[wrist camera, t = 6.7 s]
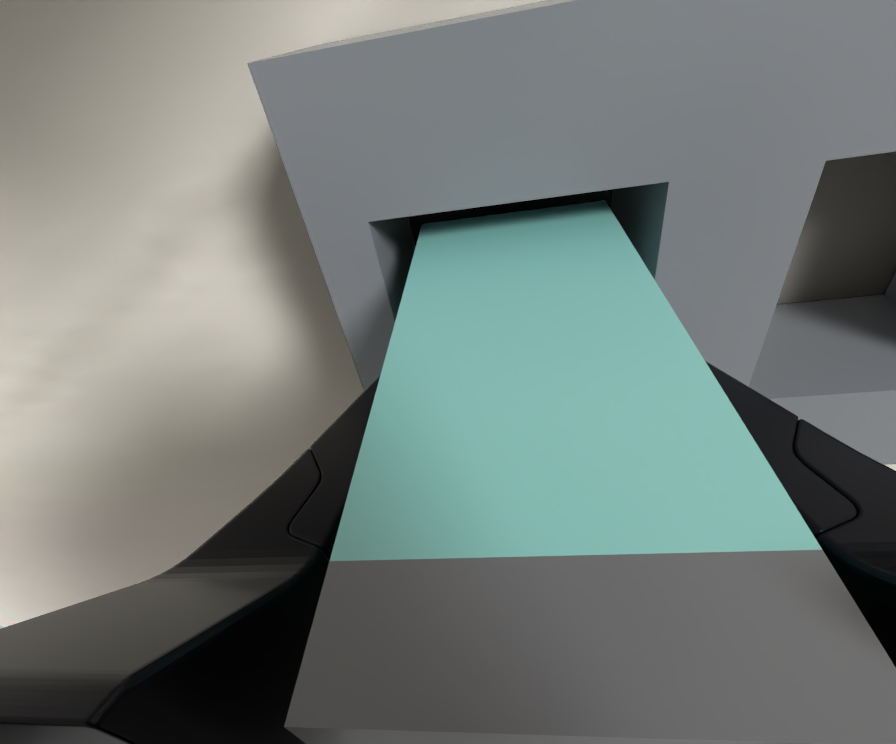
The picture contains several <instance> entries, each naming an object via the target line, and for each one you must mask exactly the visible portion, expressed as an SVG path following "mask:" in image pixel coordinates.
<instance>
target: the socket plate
mask: <svg viewBox="0 0 896 744" xmlns="http://www.w3.org/2000/svg"><path fill="white" fill-rule="evenodd" d="M248 66H249V69H250V72H251V75H252V77H253V80H254V83H255V86H256V89H257V91H258V94H259V97H260V100H261V103H262V105H263V108H264V111H265V114H266V117H267V119H268V122H269V125H270V128H271V131H272V133H273V136H274V139H275V142H276V145H277V147H278V150H279V153H280V156H281V159H282V161H283V164H284V167H285V170H286V173H287V175H288V178H289V181H290V184H291V187H292V189H293V192H294V195H295V198H296V201H297V203H298V206H299V209H300V212H301V215H302V217H303V220H304V223H305V226H306V229H307V232H308V234H309V237H310V240H311V243H312V246H313V248H314V251H315V254H316V257H317V260H318V262H319V265H320V268H321V271H322V274H323V276H324V279H325V282H326V285H327V288H328V290H329V293H330V296H331V299H332V302H333V304H334V307H335V310H336V313H337V316H338V318H339V321H340V324H341V327H342V330H343V332H344V335H345V338H346V341H347V344H348V346H349V349H350V352H351V355H352V358H353V360H354V363H355V366H356V369H357V372H358V374H359V377H360V380H361V383H362V386H363V388H364V391H365V390H366V389H367V388H368V387H369V386H370V385H371V384H372V383H373V382H374V381H375V380H376V379H377V378H378V377H379V376H380V375H381V372H382V368H383V364H384V361H385V357H386V353H387V350H388V346H389V342H390V339H391V335H392V332H393V328H394V324H395V321H396V317H397V313H398V310H399V306H400V302H401V299H402V295H403V291H404V288H405V284H406V281H407V277H408V273H409V270H410V266H411V262H412V259H413V255H414V251H415V244H414V239H413V235H412V230H411V225H410V220H409V216H416V215H423V214H431V213H438V212H446V211H453V210H461V209H468V208H476V207H483V206H491V205H498V204H506V203H513V202H521V201H528V200H536V199H543V198H551V197H558V196H566V195H573V194H581V193H588V192H596V191H603V190H611V189H613V190H612V204H611V211H612V212H613V214H614V215H615V217H616V219H617V220H618V222H619V223H620V225H621V227H622V228H623V230H624V232H625V233H626V235H627V236H628V238H629V240H630V241H631V243H632V244H633V246H634V248H635V249H636V251H637V252H638V254H639V256H640V257H641V259H642V260H643V262H644V264H645V265H646V267H647V269H648V270H649V272H650V273H651V275H652V277H653V278H654V280H655V281H656V283H657V285H658V286H659V288H660V289H661V291H662V293H663V294H664V296H665V297H666V299H667V301H668V302H669V304H670V305H671V307H672V309H673V310H674V312H675V314H676V315H677V317H678V318H679V320H680V322H681V323H682V325H683V326H684V328H685V330H686V331H687V333H688V334H689V336H690V338H691V339H692V341H693V342H694V344H695V346H696V347H697V349H698V351H699V352H700V354H701V355H702V357H703V359H704V360H705V361H706V362H708V363H710V364H711V365H713V366H715V367H716V368H718V369H720V370H722V371H723V372H725V373H727V374H728V375H730V376H732V377H733V378H735V379H737V380H738V381H740V382H742V383H743V384H745V385H747V386H748V387H750V388H752V389H753V390H755V391H757V392H758V393H760V394H762V395H763V396H765V397H767V398H768V399H770V400H772V401H773V402H775V403H777V404H778V405H780V406H782V407H783V408H785V409H787V410H788V411H790V412H792V413H793V414H795V415H797V416H798V420H799V419H804V420H805V421H807V422H809V423H810V424H812V425H814V426H815V427H817V428H819V429H820V430H822V431H824V432H825V433H827V434H829V435H831V436H832V437H834V438H836V439H838V440H839V441H841V442H843V443H845V444H846V445H848V446H850V447H852V448H853V449H855V450H857V451H859V452H860V453H862V454H864V455H866V456H868V457H870V458H872V459H874V460H876V461H877V462H879V463H881V464H896V272H895V274H894V276H893V278H892V280H891V282H890V284H889V286H888V288H887V290H886V292H885V294H884V295H874V296H863V297H852V298H842V299H831V300H821V301H810V302H799V303H789V304H778V305H777V302H778V299H779V296H780V293H781V290H782V288H783V285H784V282H785V279H786V276H787V273H788V270H789V267H790V264H791V261H792V258H793V256H794V253H795V250H796V247H797V244H798V241H799V238H800V235H801V232H802V229H803V226H804V223H805V221H806V218H807V215H808V212H809V209H810V206H811V203H812V200H813V197H814V194H815V191H816V189H817V186H818V183H819V180H820V177H821V174H822V171H823V168H824V165H825V162H826V161H828V160H836V159H843V158H851V157H858V156H866V155H873V154H880V153H888V152H895V151H896V0H548V1H543V2H538V3H533V4H527V5H522V6H517V7H512V8H507V9H502V10H496V11H491V12H486V13H481V14H476V15H471V16H465V17H460V18H455V19H450V20H445V21H440V22H434V23H429V24H424V25H419V26H414V27H409V28H403V29H398V30H393V31H388V32H383V33H378V34H372V35H367V36H362V37H357V38H352V39H347V40H341V41H336V42H331V43H326V44H321V45H316V46H312V47H308V48H305V49H301V50H297V51H293V52H289V53H285V54H282V55H278V56H274V57H270V58H266V59H262V60H258V61H255V62H251V63H248Z"/></svg>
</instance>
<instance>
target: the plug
mask: <svg viewBox="0 0 896 744" xmlns="http://www.w3.org/2000/svg"><path fill="white" fill-rule="evenodd" d="M284 727H285V728H286V729H287V730H289V731H290V732H291V733H293V734H294V735H295V736H296V737H298V738H299V739H300V740H302V741H303V742H304V743H306V744H896V667H895V666H894V664H893V662H892V661H891V659H890V658H889V656H888V654H887V653H886V651H885V650H884V648H883V646H882V645H881V643H880V642H879V640H878V638H877V637H876V635H875V633H874V632H873V630H872V629H871V627H870V625H869V624H868V622H867V621H866V619H865V617H864V616H863V614H862V613H861V611H860V609H859V608H858V606H857V605H856V603H855V601H854V600H853V598H852V597H851V595H850V593H849V592H848V590H847V588H846V587H845V585H844V584H843V582H842V580H841V579H840V577H839V576H838V574H837V572H836V571H835V569H834V568H833V566H832V564H831V563H830V561H829V560H828V558H827V556H826V555H825V553H824V551H823V550H822V548H821V547H820V545H819V543H818V542H817V540H816V539H815V537H814V535H813V534H812V532H811V531H810V529H809V527H808V526H807V524H806V523H805V521H804V519H803V518H802V516H801V515H800V513H799V511H798V510H797V508H796V506H795V505H794V503H793V502H792V500H791V498H790V497H789V495H788V494H787V492H786V490H785V489H784V487H783V486H782V484H781V482H780V481H779V479H778V478H777V476H776V474H775V473H774V471H773V469H772V468H771V466H770V465H769V463H768V461H767V460H766V458H765V457H764V455H763V453H762V452H761V450H760V449H759V447H758V445H757V444H756V442H755V441H754V439H753V437H752V436H751V434H750V433H749V431H748V429H747V428H746V426H745V424H744V423H743V421H742V420H741V418H740V416H739V415H738V413H737V412H736V410H735V408H734V407H733V405H732V404H731V402H730V400H729V399H728V397H727V396H726V394H725V392H724V391H723V389H722V387H721V386H720V384H719V383H718V381H717V379H716V378H715V376H714V375H713V373H712V371H711V370H710V368H709V367H708V365H707V363H706V362H705V360H704V359H703V357H702V355H701V354H700V352H699V351H698V349H697V347H696V346H695V344H694V342H693V341H692V339H691V338H690V336H689V334H688V333H687V331H686V330H685V328H684V326H683V325H682V323H681V322H680V320H679V318H678V317H677V315H676V314H675V312H674V310H673V309H672V307H671V305H670V304H669V302H668V301H667V299H666V297H665V296H664V294H663V293H662V291H661V289H660V288H659V286H658V285H657V283H656V281H655V280H654V278H653V277H652V275H651V273H650V272H649V270H648V269H647V267H646V265H645V264H644V262H643V260H642V259H641V257H640V256H639V254H638V252H637V251H636V249H635V248H634V246H633V244H632V243H631V241H630V240H629V238H628V236H627V235H626V233H625V232H624V230H623V228H622V227H621V225H620V223H619V222H618V220H617V219H616V217H615V215H614V214H613V212H612V211H611V209H610V207H609V206H608V204H607V203H606V201H605V200H603V201H595V202H588V203H580V204H572V205H565V206H557V207H549V208H542V209H534V210H526V211H519V212H511V213H503V214H496V215H488V216H480V217H473V218H465V219H457V220H450V221H442V222H434V223H426V224H422V226H421V230H420V233H419V237H418V240H417V244H416V248H415V251H414V255H413V259H412V262H411V266H410V270H409V273H408V277H407V281H406V284H405V288H404V291H403V295H402V299H401V302H400V306H399V310H398V313H397V317H396V321H395V324H394V328H393V332H392V335H391V339H390V342H389V346H388V350H387V353H386V357H385V361H384V364H383V368H382V372H381V375H380V379H379V383H378V386H377V390H376V393H375V397H374V401H373V404H372V408H371V412H370V415H369V419H368V423H367V426H366V430H365V434H364V437H363V441H362V444H361V448H360V452H359V455H358V459H357V463H356V466H355V470H354V474H353V477H352V481H351V485H350V488H349V492H348V495H347V499H346V503H345V506H344V510H343V514H342V517H341V521H340V525H339V528H338V532H337V536H336V539H335V543H334V546H333V550H332V554H331V557H330V561H329V565H328V568H327V572H326V576H325V579H324V583H323V587H322V590H321V594H320V597H319V601H318V605H317V608H316V612H315V616H314V619H313V623H312V627H311V630H310V634H309V637H308V641H307V645H306V648H305V652H304V656H303V659H302V663H301V667H300V670H299V674H298V678H297V681H296V685H295V688H294V692H293V696H292V699H291V703H290V707H289V710H288V714H287V718H286V721H285V725H284Z"/></svg>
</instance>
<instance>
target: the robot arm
mask: <svg viewBox="0 0 896 744" xmlns="http://www.w3.org/2000/svg"><path fill="white" fill-rule="evenodd" d="M705 362H706V361H705ZM706 363H707V365H708V367H709V368H710V370H711V371H712V373H713V375H714V376H715V378H716V379H717V381H718V383H719V384H720V386H721V387H722V389H723V391H724V392H725V394H726V396H727V397H728V399H729V400H730V402H731V404H732V405H733V407H734V408H735V410H736V412H737V413H738V415H739V416H740V418H741V420H742V421H743V423H744V424H745V426H746V428H747V429H748V431H749V433H750V434H751V436H752V437H753V439H754V441H755V442H756V444H757V445H758V447H759V449H760V450H761V452H762V453H763V455H764V457H765V458H766V460H767V461H768V463H769V465H770V466H771V468H772V469H773V471H774V473H775V474H776V476H777V478H778V479H779V481H780V482H781V484H782V486H783V487H784V489H785V490H786V492H787V494H788V495H789V497H790V498H791V500H792V502H793V503H794V505H795V506H796V508H797V510H798V511H799V513H800V515H801V516H802V518H803V519H804V521H805V523H806V524H807V526H808V527H809V529H810V531H811V532H812V534H813V535H814V537H815V539H816V540H817V542H818V543H819V545H820V547H821V548H822V550H823V551H824V553H825V555H826V556H827V558H828V560H829V561H830V563H831V564H832V566H833V568H834V569H835V571H836V572H837V574H838V576H839V577H840V579H841V580H842V582H843V584H844V585H845V587H846V588H847V590H848V592H849V593H850V595H851V597H852V598H853V600H854V601H855V603H856V605H857V606H858V608H859V609H860V611H861V613H862V614H863V616H864V617H865V619H866V621H867V622H868V624H869V625H870V627H871V629H872V630H873V632H874V633H875V635H876V637H877V638H878V640H879V642H880V643H881V645H882V646H883V648H884V650H885V651H886V653H887V654H888V656H889V658H890V659H891V661H892V662H893V664H894V666H895V667H896V471H894V470H893V469H891V468H889V467H887V466H885V465H883V464H881V463H879V462H877V461H876V460H874V459H872V458H870V457H868V456H866V455H864V454H862V453H860V452H859V451H857V450H855V449H853V448H852V447H850V446H848V445H846V444H845V443H843V442H841V441H839V440H838V439H836V438H834V437H832V436H831V435H829V434H827V433H825V432H824V431H822V430H820V429H819V428H817V427H815V426H814V425H812V424H810V423H809V422H807V421H805V420H804V419H799V420H798V416H797V415H795V414H793V413H792V412H790V411H788V410H787V409H785V408H783V407H782V406H780V405H778V404H777V403H775V402H773V401H772V400H770V399H768V398H767V397H765V396H763V395H762V394H760V393H758V392H757V391H755V390H753V389H752V388H750V387H748V386H747V385H745V384H743V383H742V382H740V381H738V380H737V379H735V378H733V377H732V376H730V375H728V374H727V373H725V372H723V371H722V370H720V369H718V368H716V367H715V366H713V365H711V364H710V363H708V362H706ZM379 379H380V376H379V377H378V378H377V379H376V380H375V381H374V382H373V383H372V384H371V385H370V386H369V387H368V388H367V389H366V390H365V391H364V392H363V393H362V394H361V395H360V396H359V397H358V398H357V399H356V400H355V401H354V402H353V403H352V404H351V406H350V407H349V408H348V409H347V410H346V411H345V412H344V413H343V414H342V415H341V416H340V417H339V418H338V419H337V420H336V421H335V422H334V423H333V424H332V425H331V426H330V427H329V428H328V429H327V430H326V431H325V432H324V433H323V434H322V435H321V436H320V437H319V438H318V439H317V440H316V441H315V442H314V443H313V444H312V445H311V447H310V449H311V450H310V449H307V450H306V451H305V452H304V453H303V454H302V455H301V456H300V457H299V458H298V459H297V460H296V461H295V462H294V463H293V464H292V465H291V466H290V467H289V468H288V469H287V470H286V471H285V472H284V473H283V474H282V475H281V476H280V477H279V478H278V479H277V480H276V481H275V482H274V483H273V484H272V485H270V486H269V487H268V488H267V489H266V490H265V491H264V492H263V493H261V494H260V495H259V496H258V497H257V498H256V499H255V500H254V501H253V502H251V503H250V504H249V505H248V506H247V507H246V508H244V509H243V510H242V511H241V512H240V513H239V514H237V515H236V516H235V517H234V518H233V519H232V520H230V521H229V522H228V523H227V524H226V525H225V526H223V527H222V528H221V529H220V530H219V531H218V532H217V533H215V534H214V535H213V536H212V537H211V538H210V539H208V540H207V541H206V542H205V543H204V544H203V545H201V546H200V547H199V548H198V549H197V550H196V551H194V552H193V553H192V554H191V555H189V556H188V557H187V558H186V559H184V560H183V561H181V562H180V563H179V564H177V565H176V566H174V567H173V568H171V569H169V570H167V571H166V572H164V573H162V574H160V575H158V576H156V577H153V578H151V579H149V580H146V581H144V582H141V583H138V584H135V585H132V586H129V587H126V588H123V589H120V590H117V591H114V592H111V593H108V594H105V595H102V596H99V597H96V598H93V599H90V600H87V601H84V602H81V603H78V604H75V605H72V606H68V607H65V608H62V609H59V610H56V611H53V612H50V613H47V614H44V615H41V616H38V617H35V618H32V619H29V620H26V621H23V622H20V623H17V624H14V625H11V626H8V627H5V628H2V629H0V744H306V743H304V742H303V741H302V740H300V739H299V738H298V737H296V736H295V735H294V734H293V733H291V732H290V731H289V730H287V729H286V728H285V727H284V725H285V721H286V718H287V714H288V710H289V707H290V703H291V699H292V696H293V692H294V688H295V685H296V681H297V678H298V674H299V670H300V667H301V663H302V659H303V656H304V652H305V648H306V645H307V641H308V637H309V634H310V630H311V627H312V623H313V619H314V616H315V612H316V608H317V605H318V601H319V597H320V594H321V590H322V587H323V583H324V579H325V576H326V572H327V568H328V565H329V561H330V557H331V554H332V550H333V546H334V543H335V539H336V536H337V532H338V528H339V525H340V521H341V517H342V514H343V510H344V506H345V503H346V499H347V495H348V492H349V488H350V485H351V481H352V477H353V474H354V470H355V466H356V463H357V459H358V455H359V452H360V448H361V444H362V441H363V437H364V434H365V430H366V426H367V423H368V419H369V415H370V412H371V408H372V404H373V401H374V397H375V393H376V390H377V386H378V383H379Z"/></svg>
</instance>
